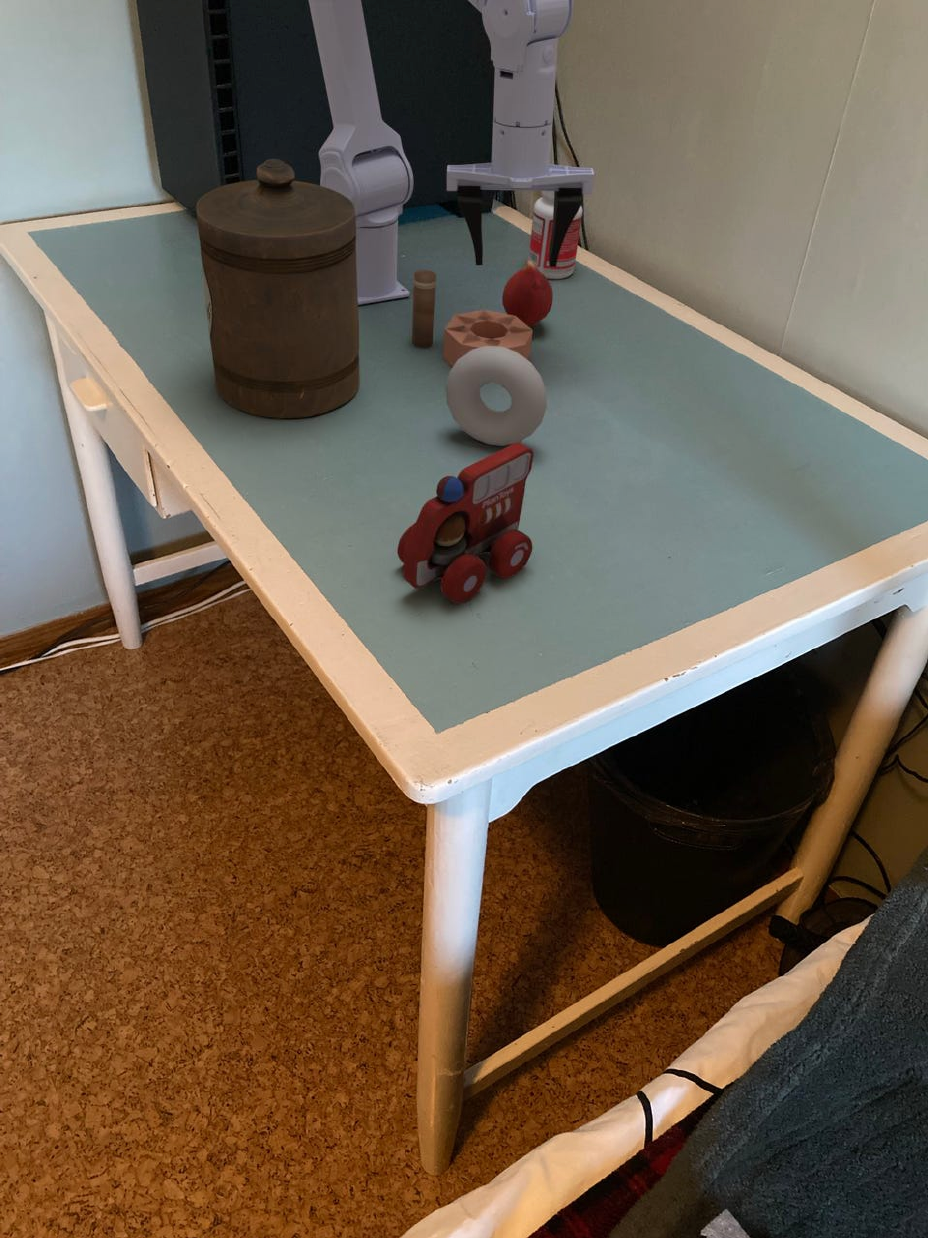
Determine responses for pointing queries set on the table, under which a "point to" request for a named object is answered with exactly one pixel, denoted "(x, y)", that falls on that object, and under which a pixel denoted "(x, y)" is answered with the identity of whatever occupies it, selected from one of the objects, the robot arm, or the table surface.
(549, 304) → the onion
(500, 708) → the table surface
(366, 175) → the robot arm
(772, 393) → the table surface
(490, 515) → the toy fire truck
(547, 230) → the pill bottle
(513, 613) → the table surface
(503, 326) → the orange octagonal ring
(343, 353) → the wooden container
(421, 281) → the case
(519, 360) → the donut
